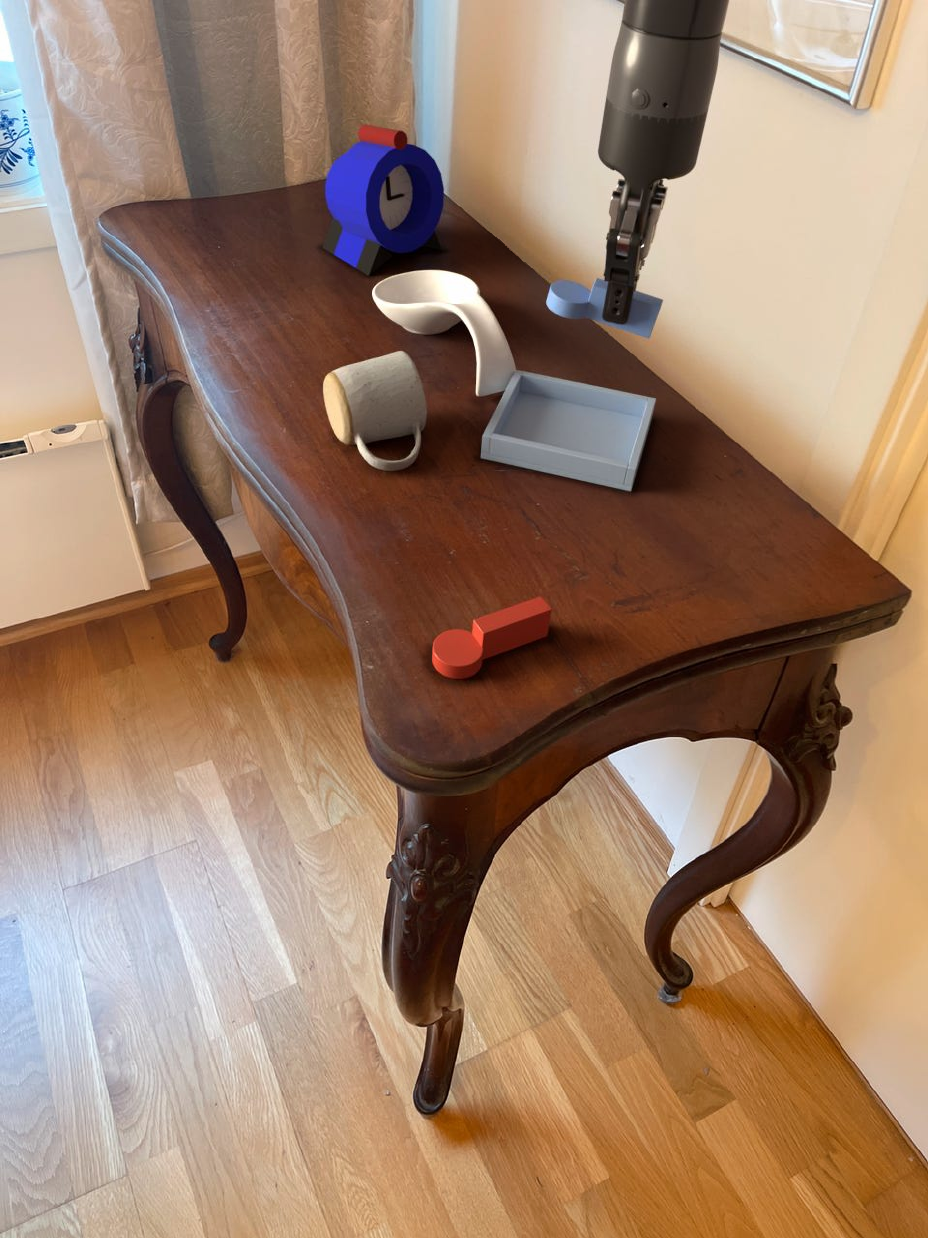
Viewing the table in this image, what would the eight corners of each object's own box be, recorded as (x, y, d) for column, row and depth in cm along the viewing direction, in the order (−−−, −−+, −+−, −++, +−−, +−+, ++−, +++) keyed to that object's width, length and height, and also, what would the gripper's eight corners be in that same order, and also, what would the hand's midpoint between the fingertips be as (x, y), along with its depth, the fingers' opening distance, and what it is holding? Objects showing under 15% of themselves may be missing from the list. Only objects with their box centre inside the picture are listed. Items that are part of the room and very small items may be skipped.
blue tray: (651, 420, 96) (656, 398, 94) (631, 491, 87) (636, 469, 85) (513, 391, 98) (515, 369, 96) (480, 458, 89) (482, 435, 87)
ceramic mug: (320, 421, 92) (316, 351, 86) (397, 404, 95) (398, 335, 89) (360, 484, 86) (359, 413, 80) (441, 464, 88) (445, 394, 83)
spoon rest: (357, 309, 109) (353, 248, 104) (447, 289, 113) (447, 230, 108) (450, 409, 95) (450, 344, 90) (549, 382, 99) (555, 319, 94)
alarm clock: (371, 277, 114) (369, 147, 103) (312, 241, 120) (305, 115, 109) (447, 252, 120) (452, 126, 109) (387, 219, 126) (387, 97, 116)
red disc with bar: (529, 614, 75) (533, 587, 73) (554, 645, 73) (559, 618, 71) (423, 651, 71) (424, 624, 69) (446, 686, 69) (448, 658, 67)
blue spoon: (653, 324, 82) (665, 293, 80) (647, 345, 80) (658, 313, 78) (551, 290, 83) (560, 259, 81) (541, 309, 80) (550, 277, 78)
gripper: (698, 134, 63) (647, 363, 76) (718, 77, 72) (670, 290, 85) (590, 116, 64) (557, 345, 77) (623, 63, 74) (589, 274, 86)
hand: (616, 315), depth 81 cm, fingers closed on blue spoon, 1 cm apart
